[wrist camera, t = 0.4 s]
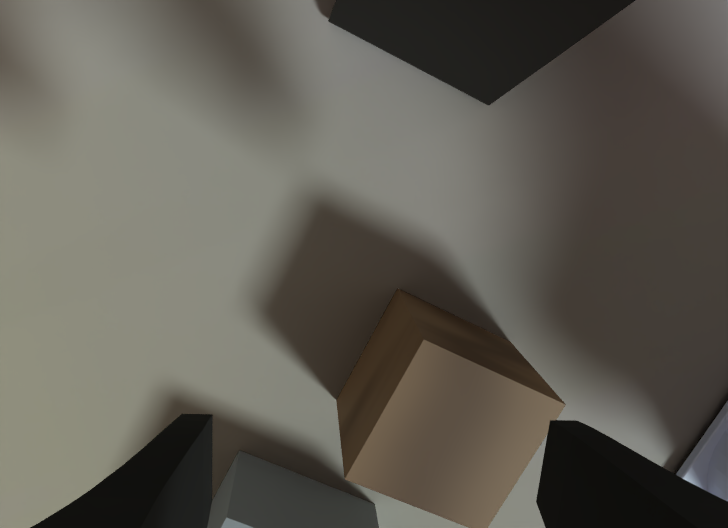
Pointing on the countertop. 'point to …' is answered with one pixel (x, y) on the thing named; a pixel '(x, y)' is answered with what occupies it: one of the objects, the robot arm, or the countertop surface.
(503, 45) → the phone stand
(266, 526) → the grey base block
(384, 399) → the walnut cube
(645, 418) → the countertop surface
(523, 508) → the countertop surface
